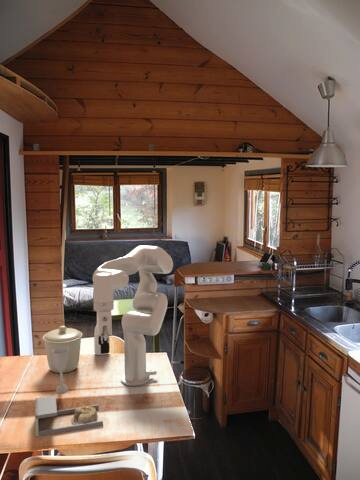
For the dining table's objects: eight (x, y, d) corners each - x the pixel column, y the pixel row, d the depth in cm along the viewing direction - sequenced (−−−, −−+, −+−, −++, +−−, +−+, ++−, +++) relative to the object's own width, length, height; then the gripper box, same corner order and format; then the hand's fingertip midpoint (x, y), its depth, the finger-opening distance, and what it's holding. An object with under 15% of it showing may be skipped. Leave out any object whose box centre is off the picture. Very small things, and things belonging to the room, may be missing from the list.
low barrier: (98, 407, 171) (98, 389, 170) (103, 425, 159) (102, 405, 158) (36, 417, 164) (35, 398, 163) (36, 436, 152) (35, 415, 151)
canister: (42, 379, 196) (40, 334, 193) (45, 362, 214) (43, 321, 211) (83, 374, 200) (82, 330, 198) (83, 359, 218) (81, 318, 215)
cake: (92, 411, 170) (93, 398, 170) (102, 423, 162) (103, 410, 161) (67, 416, 165) (68, 403, 164) (76, 429, 156) (77, 415, 156)
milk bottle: (102, 356, 221) (101, 318, 218) (91, 353, 225) (90, 316, 222) (112, 351, 228) (111, 314, 225) (101, 348, 232) (100, 312, 229)
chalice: (65, 395, 181) (63, 353, 179) (50, 393, 183) (48, 352, 180) (73, 387, 189) (71, 347, 186) (58, 385, 190) (57, 346, 188)
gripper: (116, 310, 159) (116, 355, 160) (111, 299, 175) (111, 340, 177) (95, 311, 157) (95, 357, 159) (92, 300, 173) (92, 342, 175)
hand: (103, 348), depth 168 cm, fingers open, 9 cm apart
